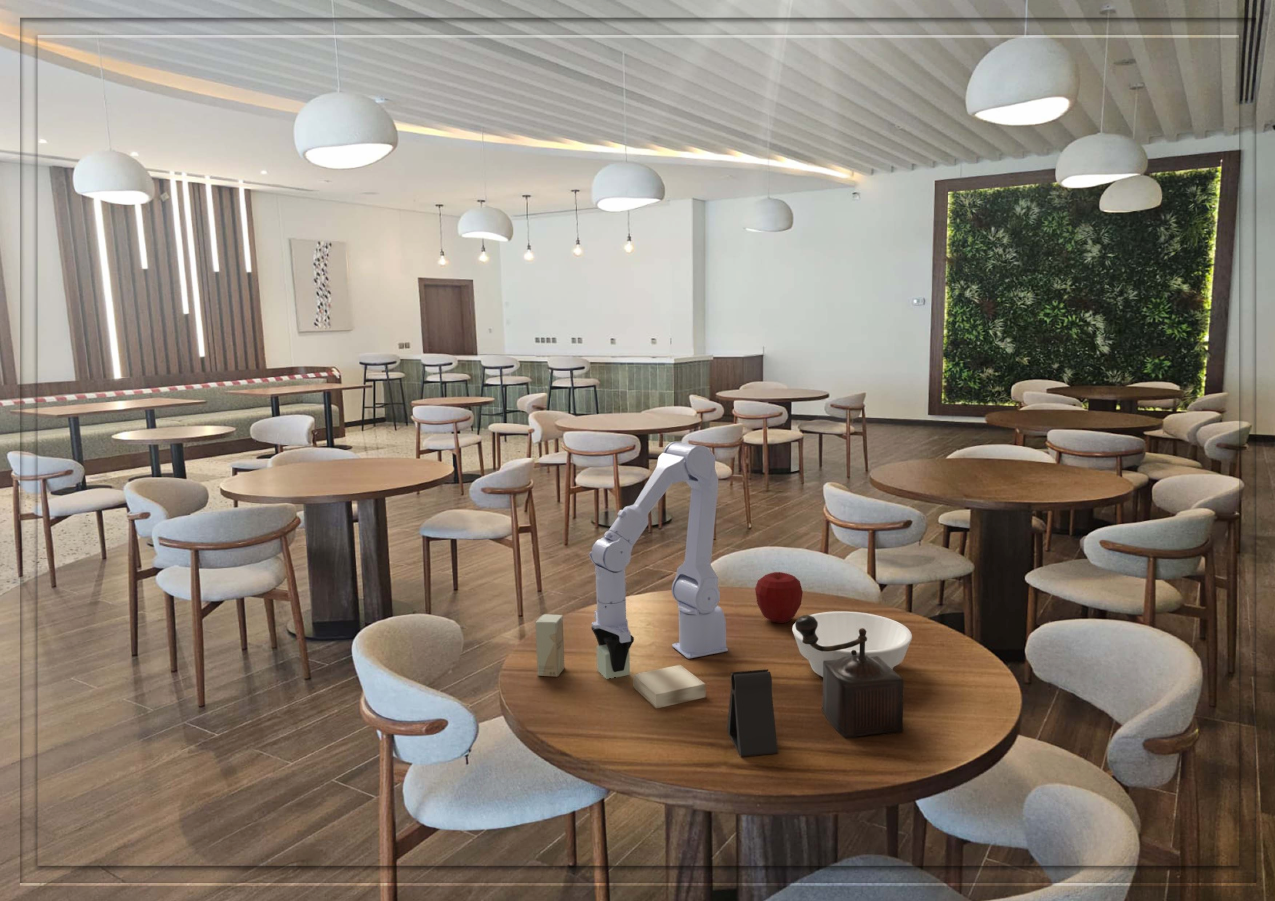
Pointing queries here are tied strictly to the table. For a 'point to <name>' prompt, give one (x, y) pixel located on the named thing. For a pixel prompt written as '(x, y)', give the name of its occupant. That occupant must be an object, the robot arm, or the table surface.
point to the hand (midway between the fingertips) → (613, 665)
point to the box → (550, 645)
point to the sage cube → (609, 663)
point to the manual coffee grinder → (857, 688)
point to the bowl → (844, 627)
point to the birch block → (668, 686)
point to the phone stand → (752, 713)
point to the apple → (779, 596)
